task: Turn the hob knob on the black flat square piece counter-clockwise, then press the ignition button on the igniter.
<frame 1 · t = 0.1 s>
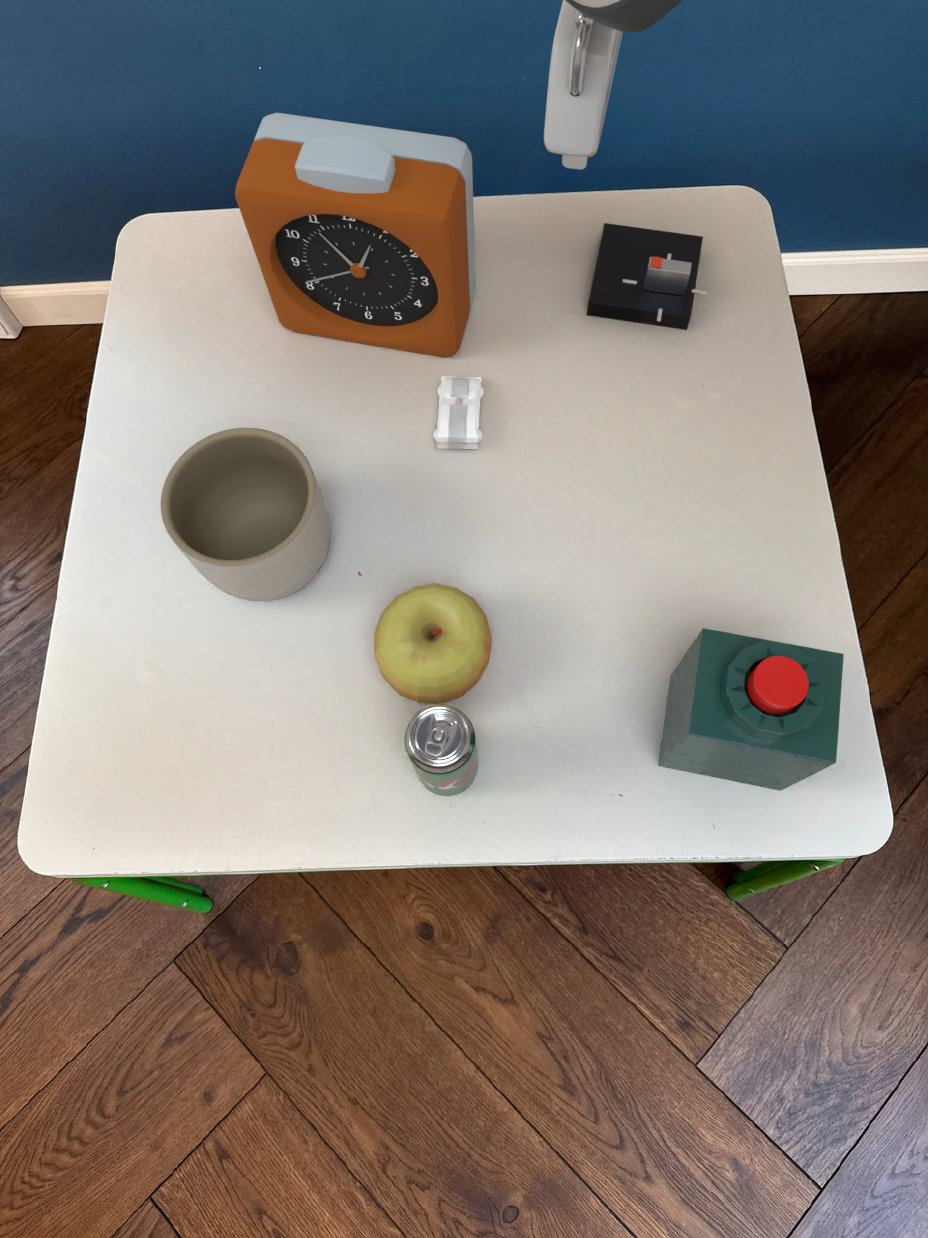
hand: (585, 114, 65), 23 cm above the table, tool pointing down, fingers open, 8 cm apart
ignition button: (777, 684, 59), point 14 cm above the table, slide at 0.1 cm
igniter: (724, 731, 73), on the table
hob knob: (667, 275, 84), point 4 cm above the table, hinge at 0.0°
alarm clock: (379, 313, 88), on the table
black flat square piece: (643, 282, 88), on the table
toy car: (459, 418, 84), on the table
planter: (271, 552, 80), on the table
apple: (436, 658, 76), on the table
soda can: (447, 766, 72), on the table
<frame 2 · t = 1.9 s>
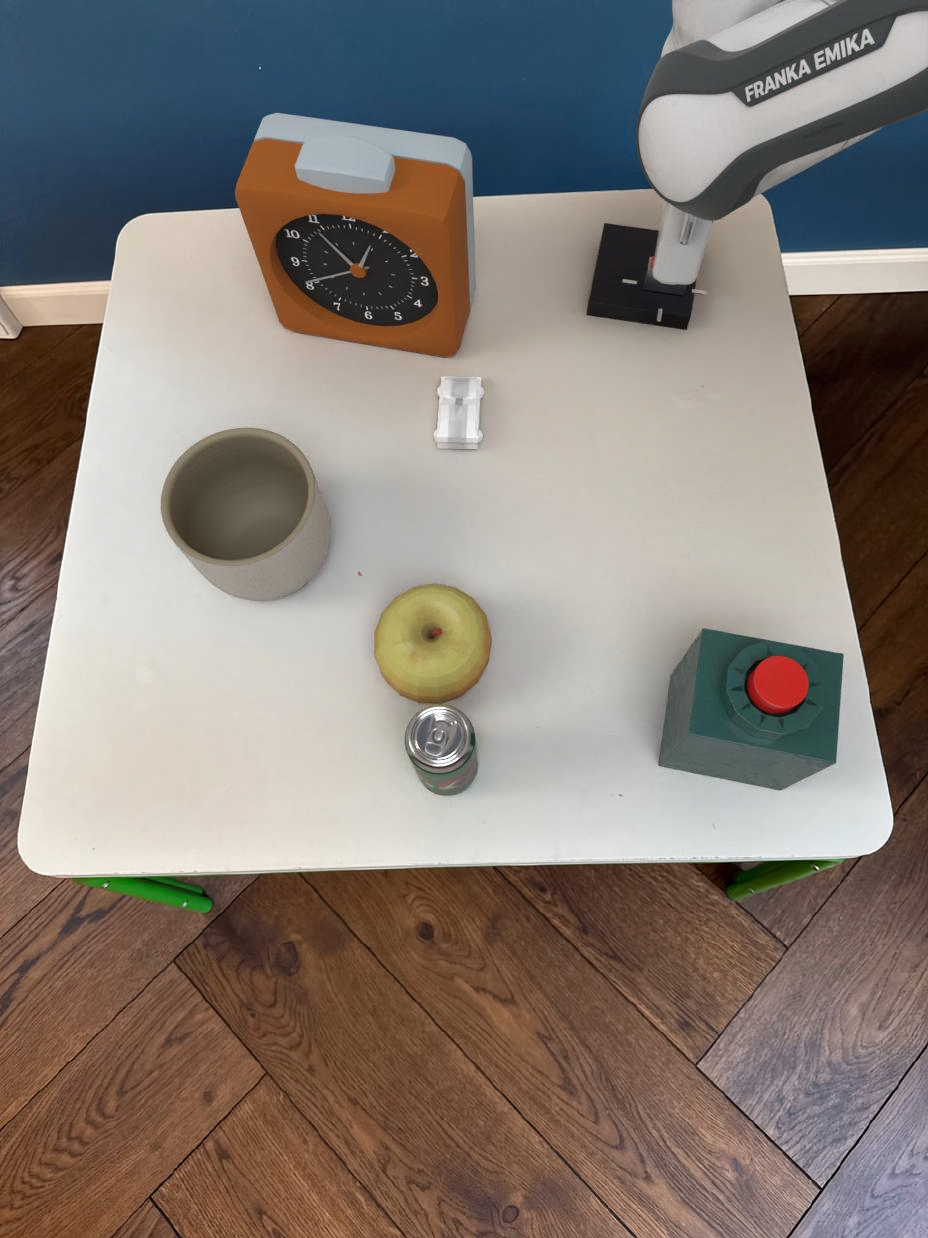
hand: (675, 236, 79), 9 cm above the table, tool pointing down, fingers open, 8 cm apart
nothing on the table moved.
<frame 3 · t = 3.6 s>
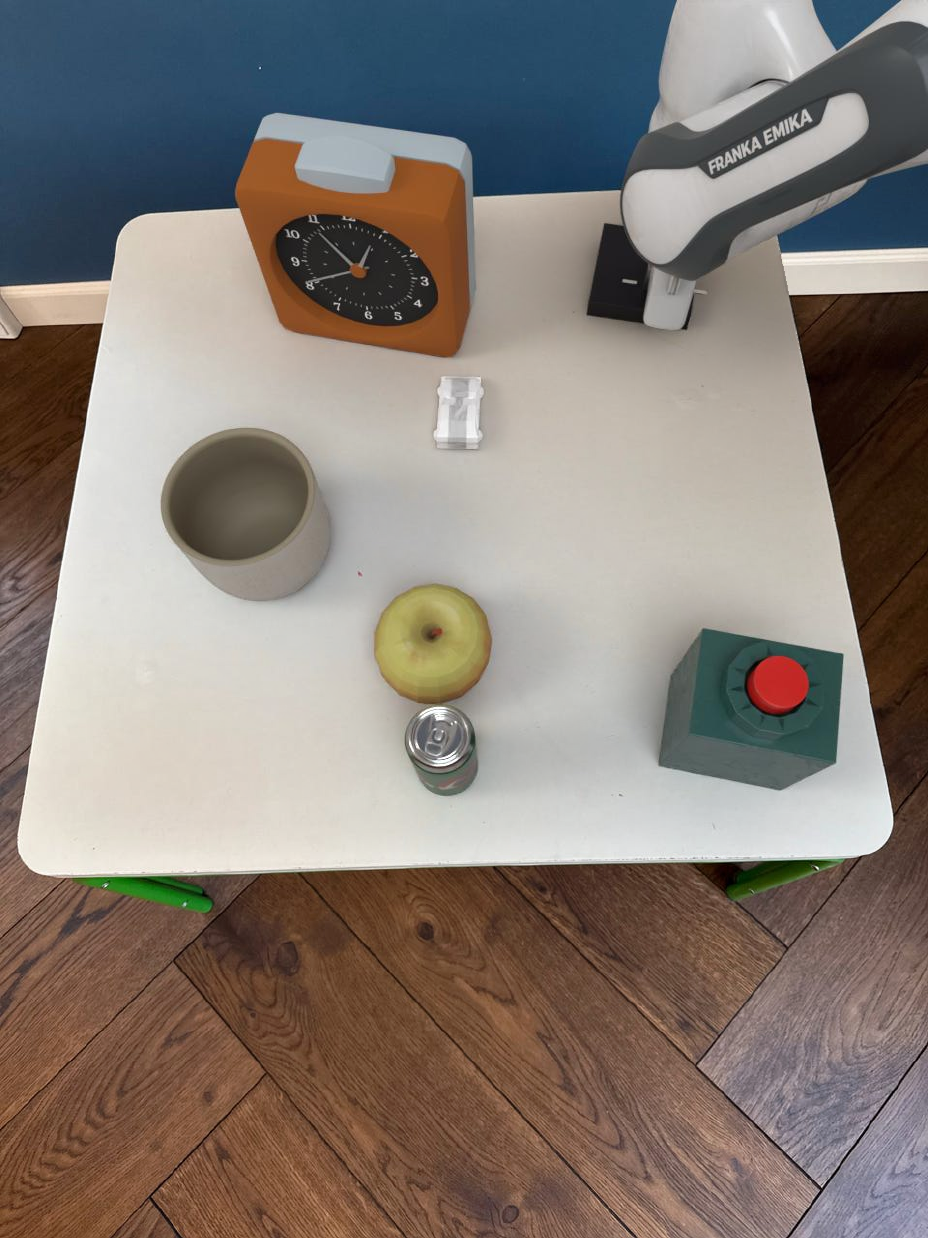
hand: (666, 280, 85), 3 cm above the table, tool pointing down, fingers closed on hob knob
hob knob: (667, 275, 84), point 4 cm above the table, hinge at 0.1°, touching gripper
everything else where it was.
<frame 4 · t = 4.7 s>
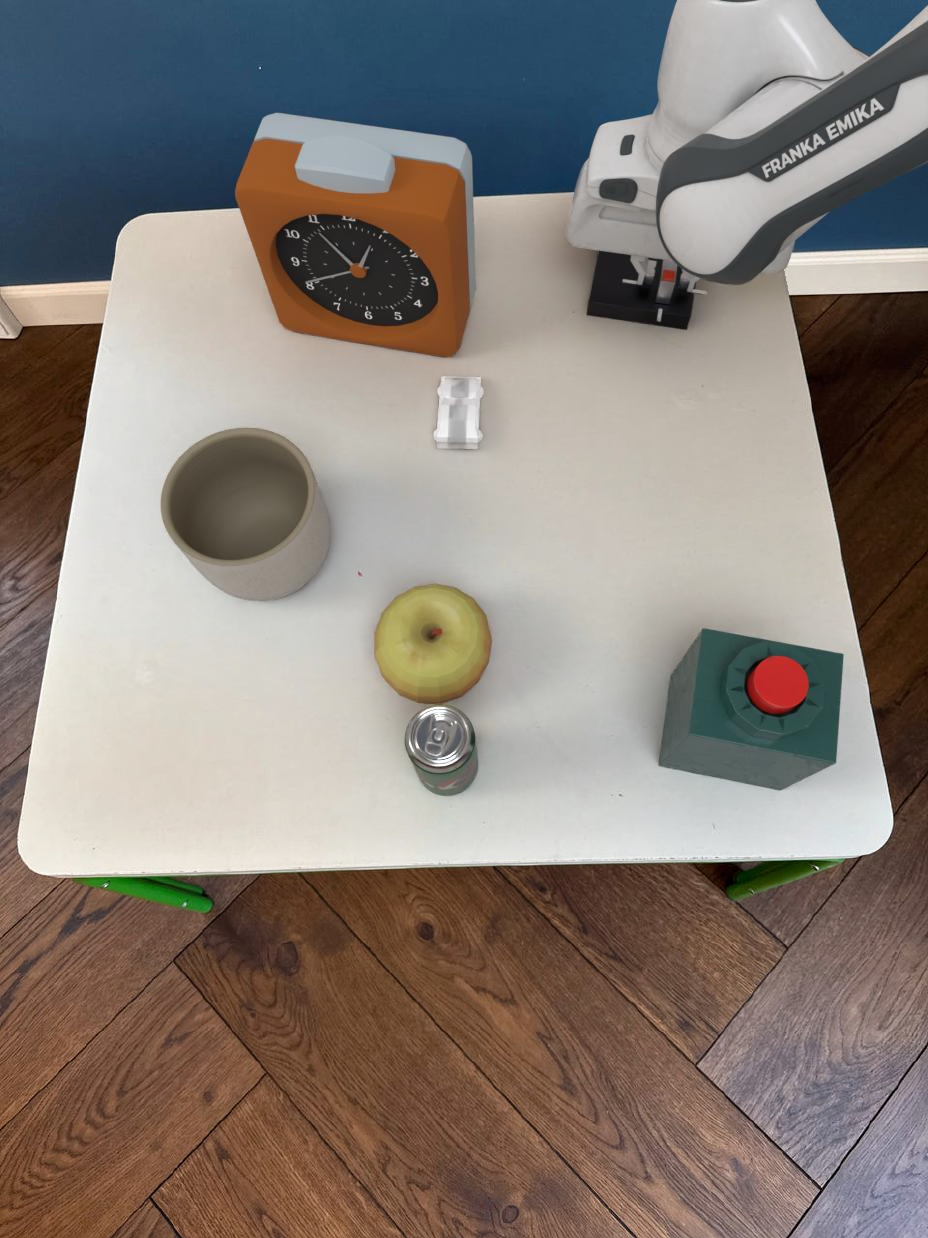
hand: (665, 283, 85), 3 cm above the table, tool pointing down, fingers closed
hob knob: (667, 275, 84), point 4 cm above the table, hinge at 91.6°
everything else where it was.
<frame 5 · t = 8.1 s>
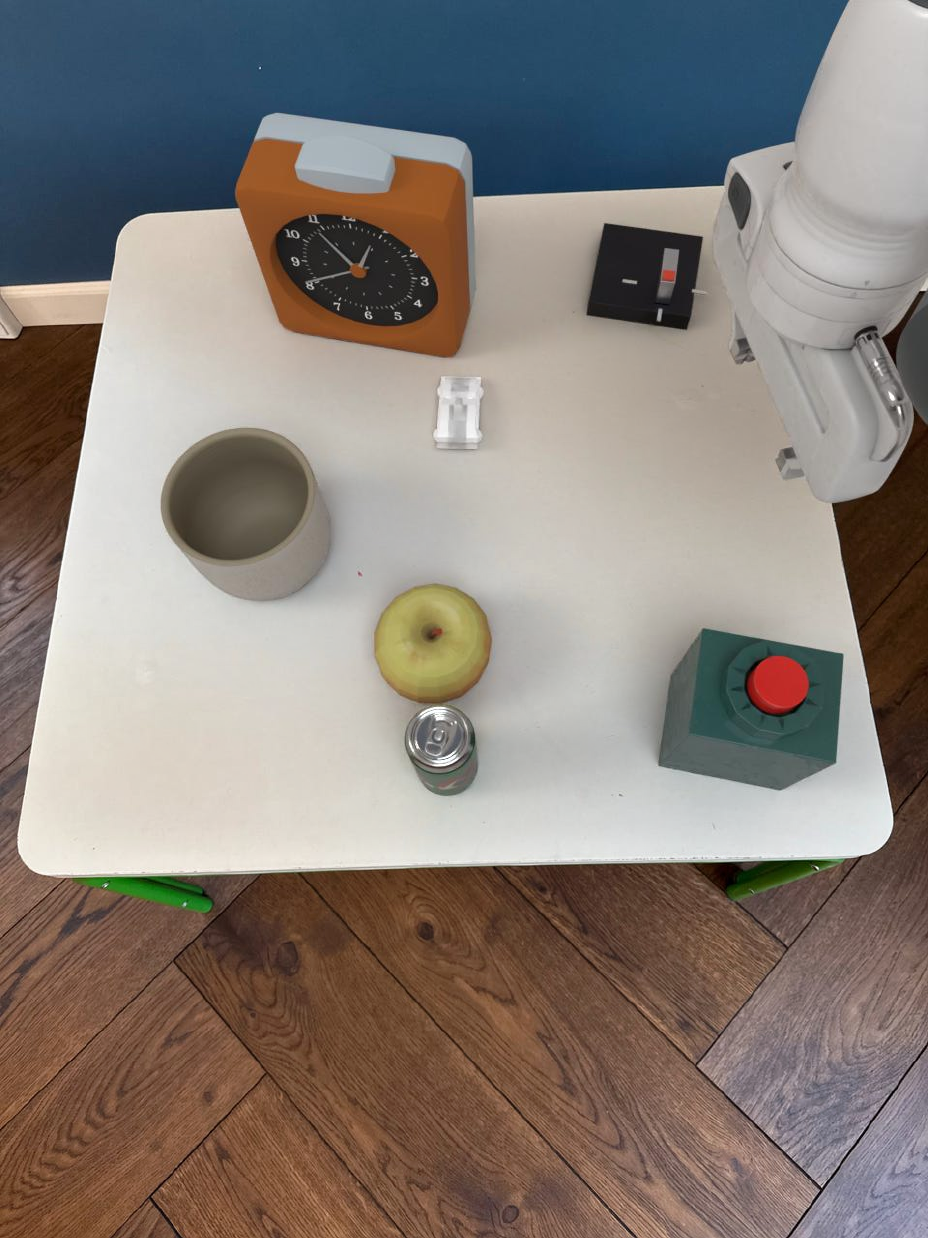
hand: (765, 410, 59), 20 cm above the table, tool pointing down, fingers open, 8 cm apart
nothing on the table moved.
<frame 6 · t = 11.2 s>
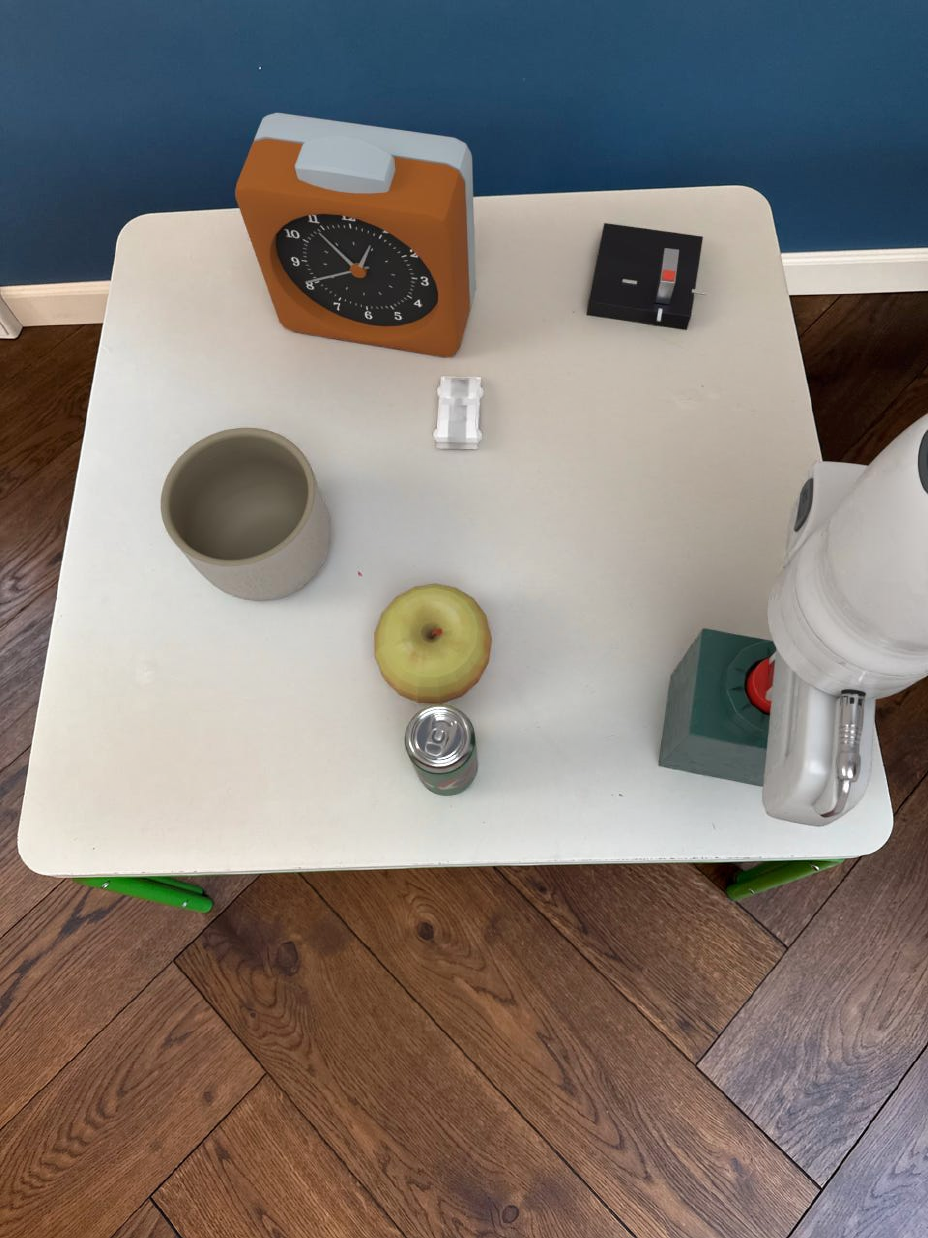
hand: (779, 682, 58), 15 cm above the table, tool pointing down, fingers closed, pressing on ignition button
ignition button: (776, 685, 59), point 14 cm above the table, slide at -0.2 cm, touching gripper
everything else where it was.
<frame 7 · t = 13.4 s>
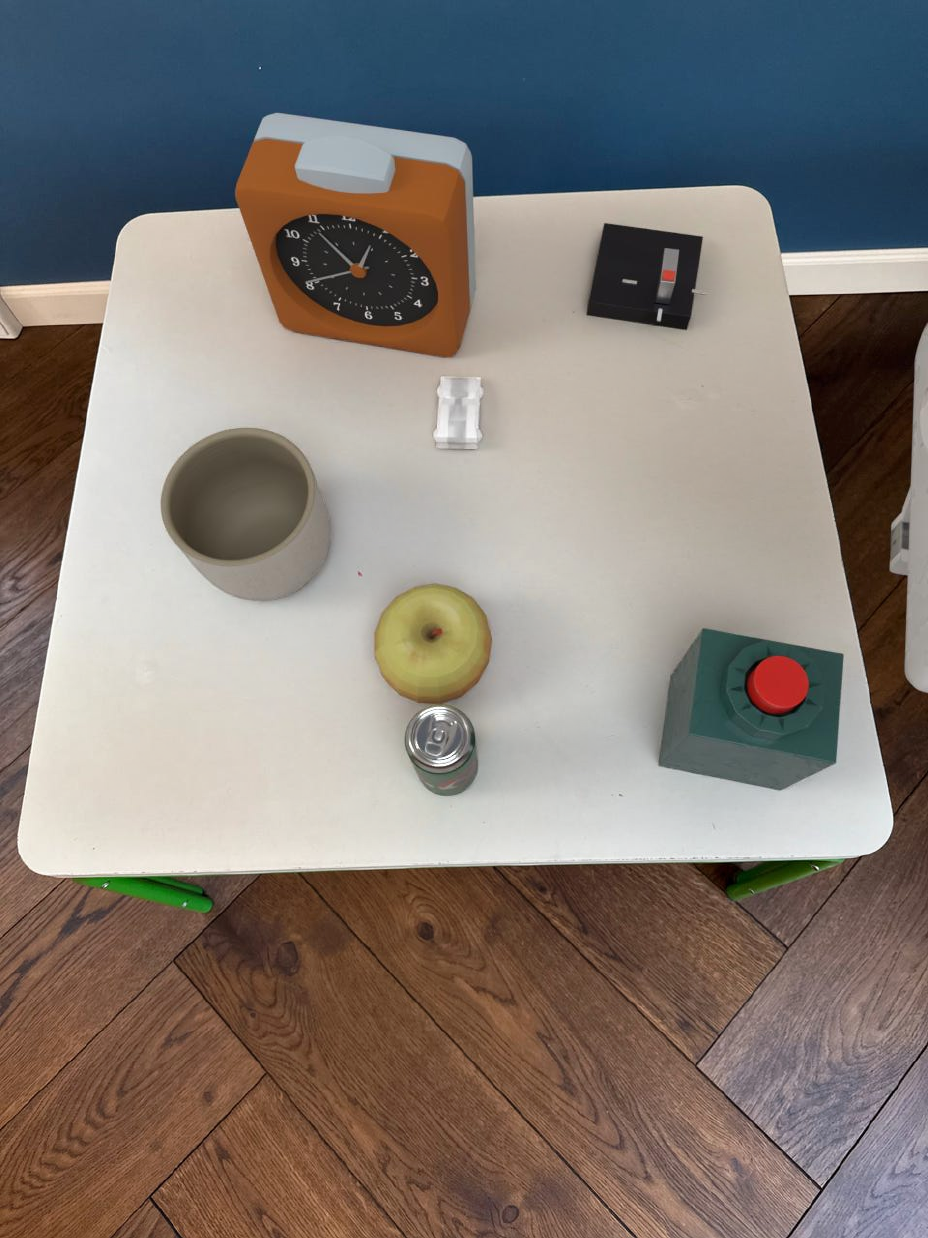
hand: (904, 551, 49), 27 cm above the table, tool pointing down, fingers closed
ignition button: (777, 684, 59), point 14 cm above the table, slide at 0.1 cm
everything else where it was.
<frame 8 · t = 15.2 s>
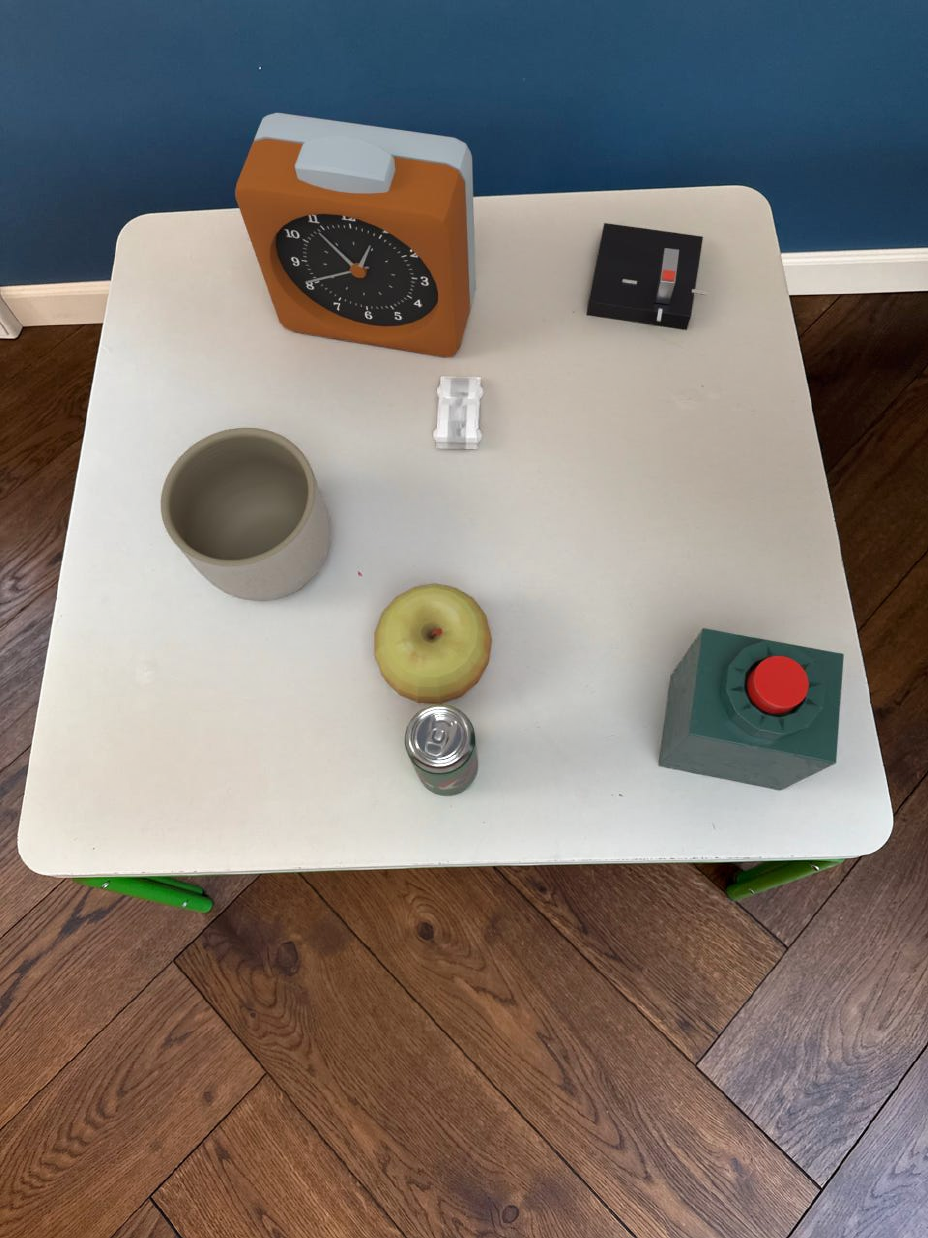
nothing on the table moved.
at the end: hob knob at +92° (first picture: +0°); ignition button pushed in 1.1 cm at the most during the clip, back to where it started at the end; ignition button slide at 0.1 cm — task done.
